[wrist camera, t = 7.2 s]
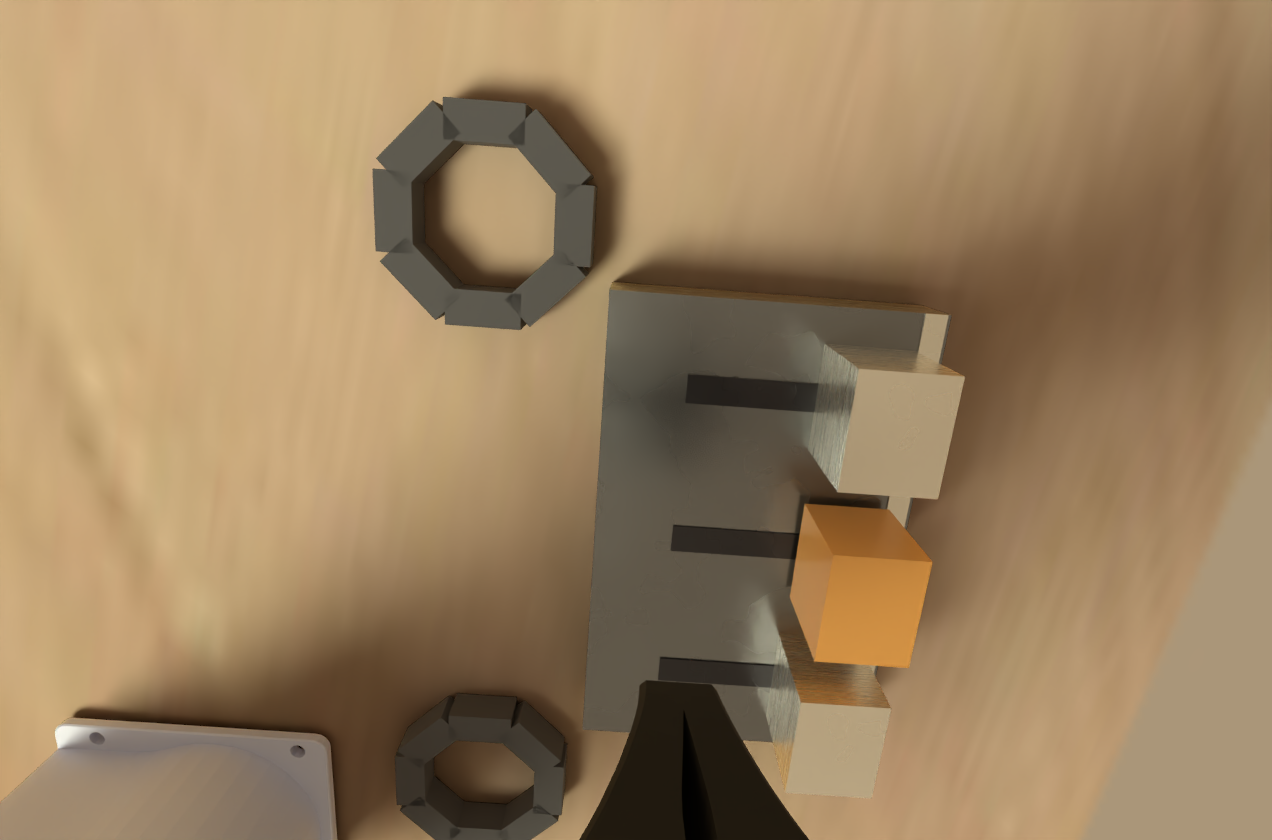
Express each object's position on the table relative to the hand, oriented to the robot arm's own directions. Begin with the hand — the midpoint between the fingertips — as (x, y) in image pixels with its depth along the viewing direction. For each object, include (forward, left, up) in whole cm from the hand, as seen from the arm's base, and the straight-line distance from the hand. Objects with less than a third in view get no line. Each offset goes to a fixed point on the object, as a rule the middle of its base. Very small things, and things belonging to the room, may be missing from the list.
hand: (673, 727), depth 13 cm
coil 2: (-5, -10, -10) cm, 15 cm away
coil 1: (-5, +9, -10) cm, 14 cm away
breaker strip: (+3, 0, -10) cm, 10 cm away
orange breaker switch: (+5, 0, -7) cm, 9 cm away
